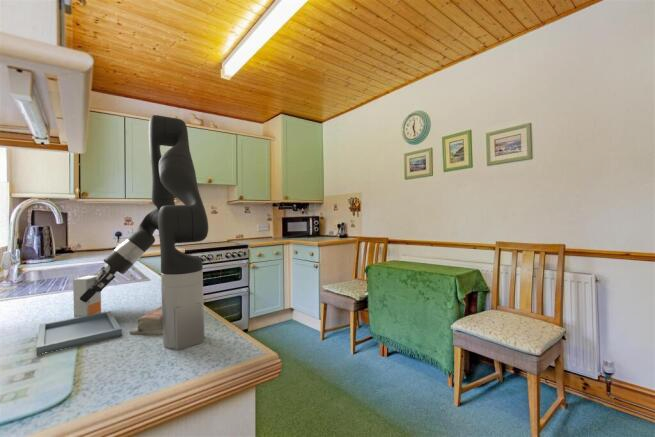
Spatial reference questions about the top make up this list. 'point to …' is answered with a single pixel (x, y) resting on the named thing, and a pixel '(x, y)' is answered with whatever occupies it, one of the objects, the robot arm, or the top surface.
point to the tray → (76, 332)
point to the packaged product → (150, 323)
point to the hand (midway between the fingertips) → (81, 298)
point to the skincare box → (92, 304)
